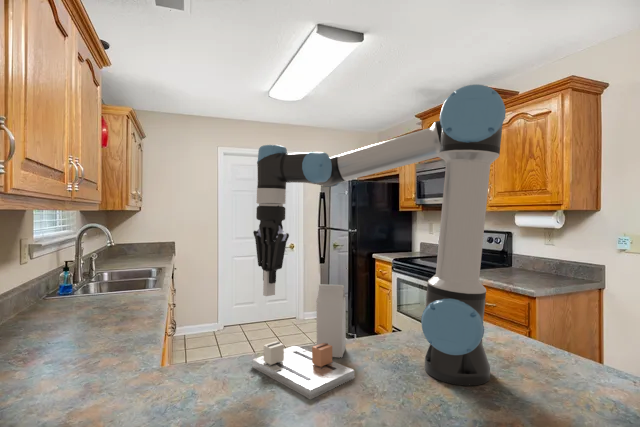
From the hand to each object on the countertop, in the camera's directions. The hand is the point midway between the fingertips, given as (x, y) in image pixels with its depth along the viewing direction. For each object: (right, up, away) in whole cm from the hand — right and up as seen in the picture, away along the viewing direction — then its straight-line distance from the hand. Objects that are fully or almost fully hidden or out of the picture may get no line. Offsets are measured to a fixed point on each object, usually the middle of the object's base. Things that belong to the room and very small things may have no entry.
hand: (269, 294), depth 96 cm
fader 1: (+2, -15, -5) cm, 16 cm away
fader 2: (+14, -15, -6) cm, 22 cm away
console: (+9, -18, -6) cm, 21 cm away
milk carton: (+17, -18, +7) cm, 25 cm away
